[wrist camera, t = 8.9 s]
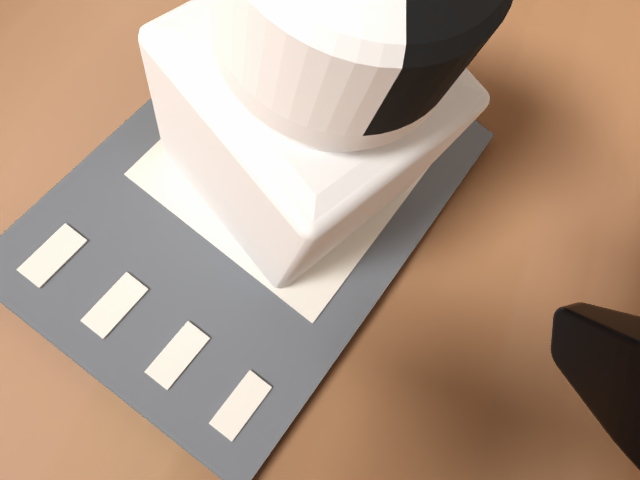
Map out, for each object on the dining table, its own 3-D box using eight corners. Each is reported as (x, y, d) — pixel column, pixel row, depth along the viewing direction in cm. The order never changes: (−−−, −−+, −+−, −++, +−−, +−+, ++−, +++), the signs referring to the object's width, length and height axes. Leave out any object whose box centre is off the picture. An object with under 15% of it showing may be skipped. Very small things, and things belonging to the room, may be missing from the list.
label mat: (487, 140, 23) (495, 133, 22) (240, 491, 17) (241, 495, 16) (285, -17, 23) (287, -29, 23) (-31, 274, 17) (-41, 270, 17)
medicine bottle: (300, 64, 21) (394, -294, 10) (408, 189, 21) (637, -44, 9) (160, 150, 19) (77, -188, 8) (276, 294, 18) (372, 153, 7)
